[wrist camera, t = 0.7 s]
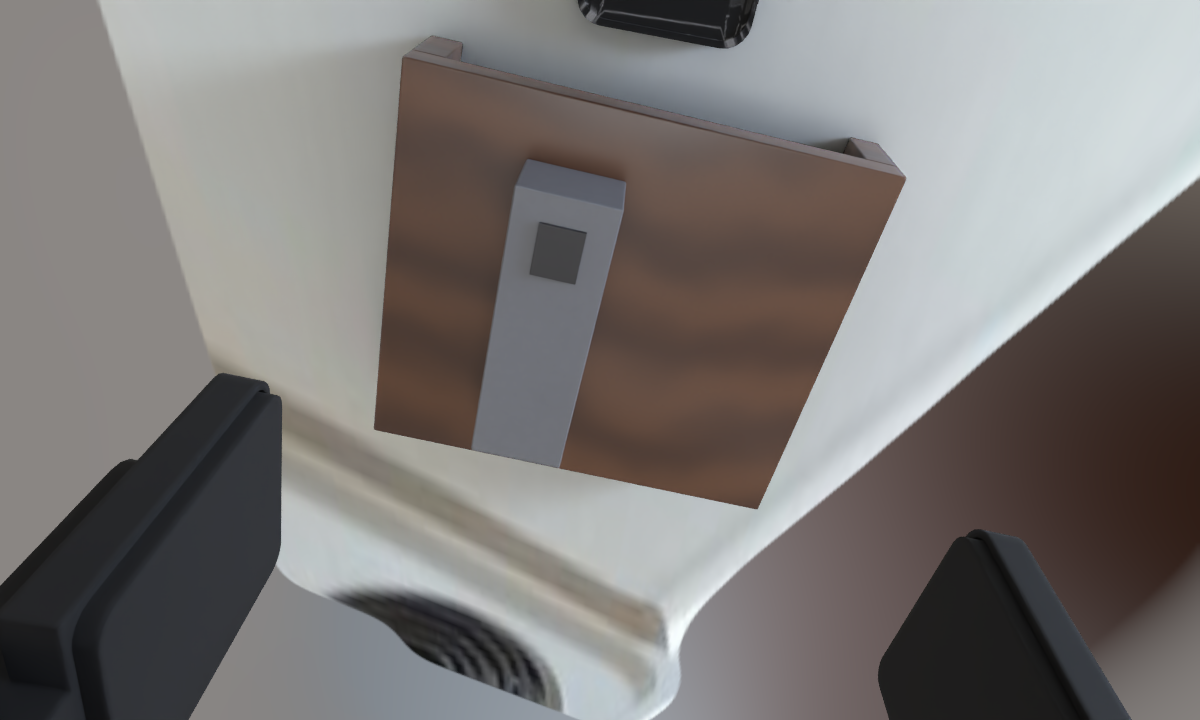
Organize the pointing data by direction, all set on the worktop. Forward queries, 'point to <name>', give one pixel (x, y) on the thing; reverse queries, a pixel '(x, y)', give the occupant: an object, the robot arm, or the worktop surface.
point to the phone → (677, 18)
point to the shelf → (626, 272)
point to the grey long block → (546, 309)
